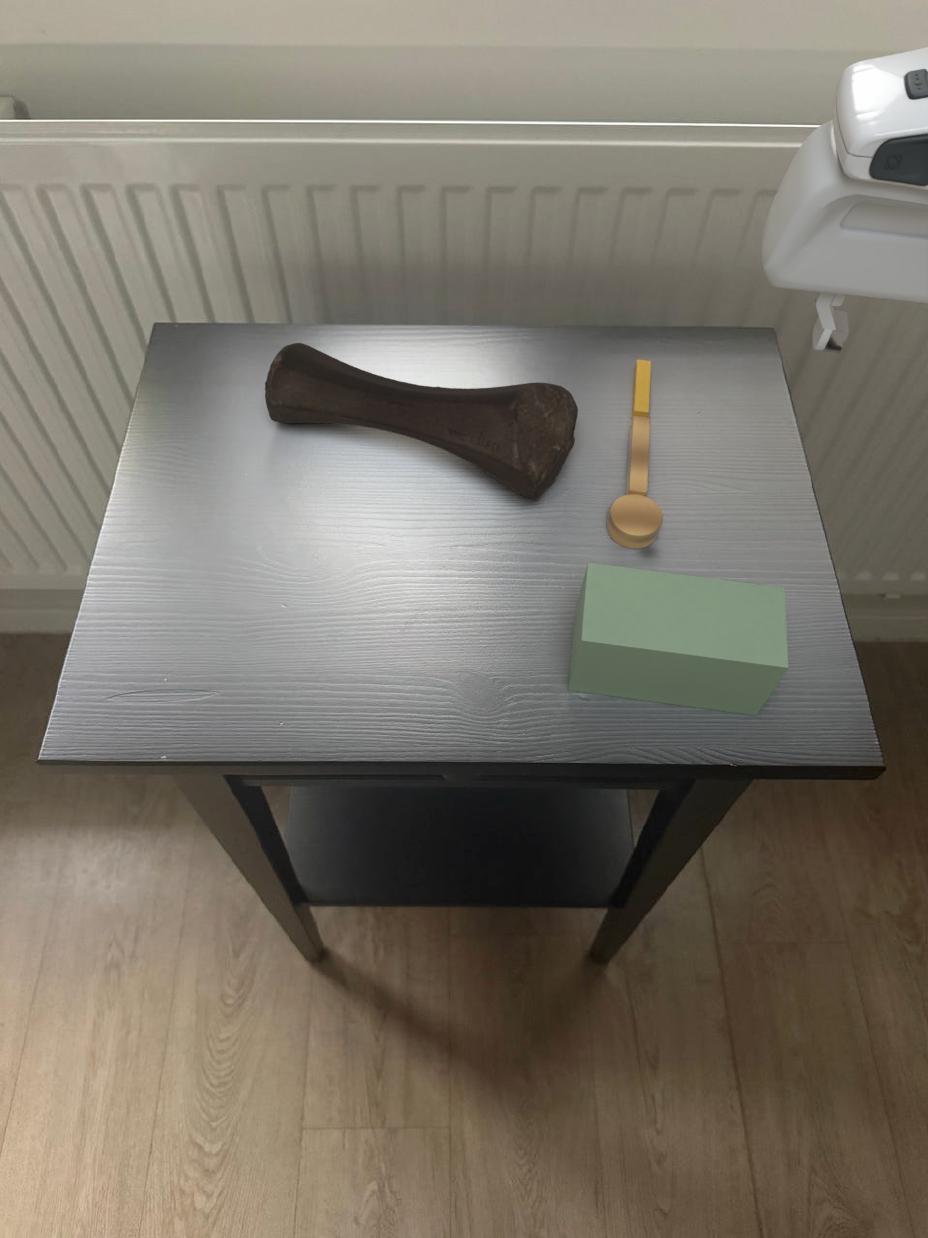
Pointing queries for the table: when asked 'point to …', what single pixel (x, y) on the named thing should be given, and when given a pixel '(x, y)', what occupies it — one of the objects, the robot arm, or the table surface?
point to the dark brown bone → (433, 415)
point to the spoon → (635, 495)
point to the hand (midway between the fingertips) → (906, 353)
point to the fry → (641, 388)
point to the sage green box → (678, 639)
